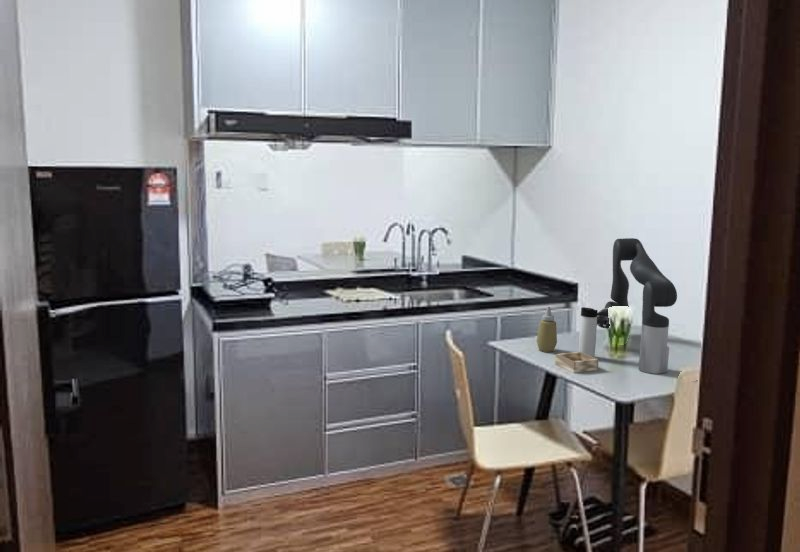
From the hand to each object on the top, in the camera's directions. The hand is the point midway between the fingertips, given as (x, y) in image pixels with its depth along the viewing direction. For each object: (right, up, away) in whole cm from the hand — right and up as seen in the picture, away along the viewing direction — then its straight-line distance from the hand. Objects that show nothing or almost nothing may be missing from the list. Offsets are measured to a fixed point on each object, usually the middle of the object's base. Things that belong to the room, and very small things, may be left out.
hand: (595, 324), depth 277 cm
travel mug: (-6, -12, -7) cm, 16 cm away
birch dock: (-13, -14, -21) cm, 28 cm away
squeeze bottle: (-20, -11, +2) cm, 22 cm away
